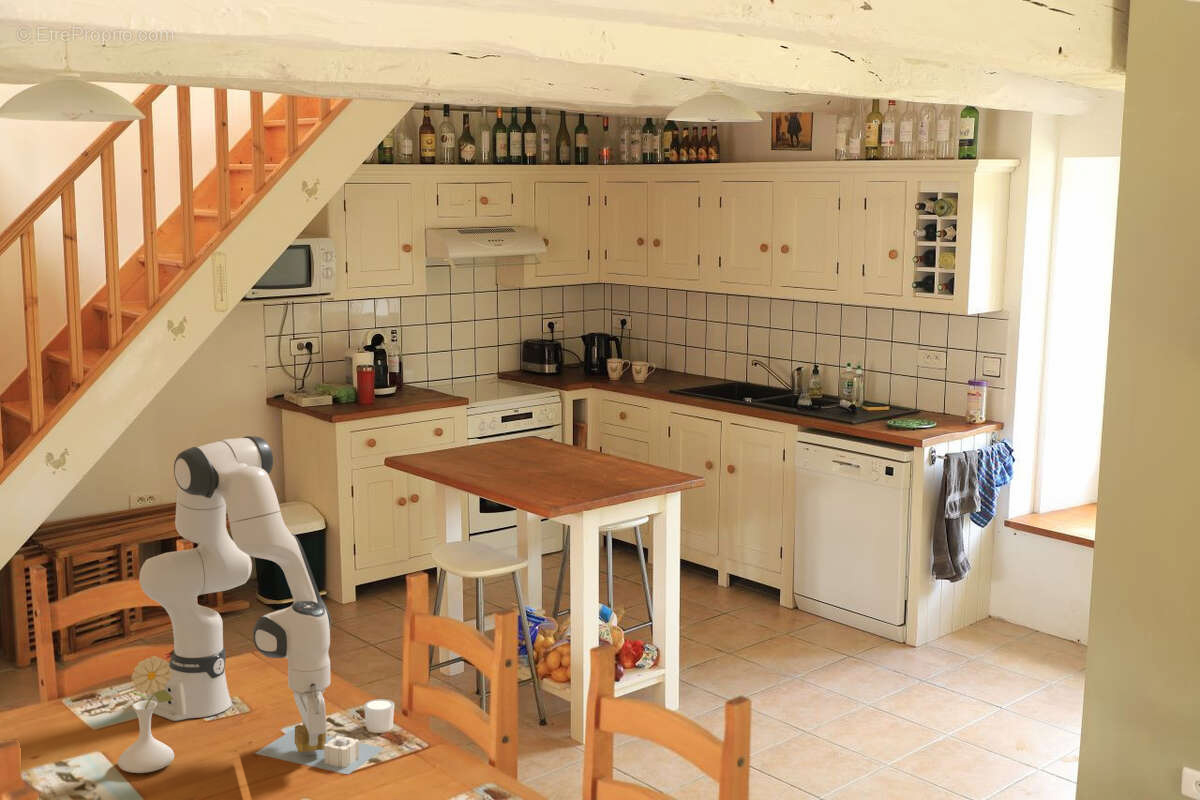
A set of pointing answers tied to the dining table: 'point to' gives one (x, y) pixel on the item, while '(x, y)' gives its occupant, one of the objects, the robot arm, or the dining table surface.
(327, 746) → the white gear
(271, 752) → the board
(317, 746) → the gear
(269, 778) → the dining table surface
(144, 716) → the flower in vase
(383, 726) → the white cup
